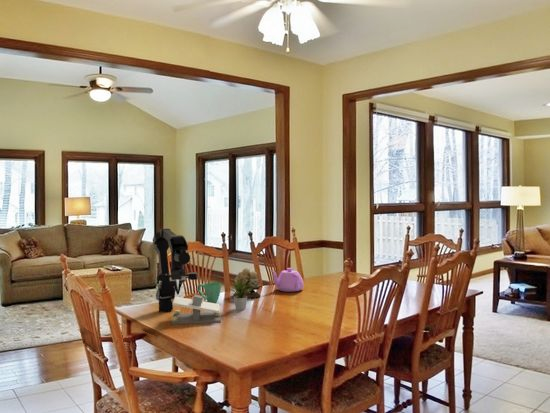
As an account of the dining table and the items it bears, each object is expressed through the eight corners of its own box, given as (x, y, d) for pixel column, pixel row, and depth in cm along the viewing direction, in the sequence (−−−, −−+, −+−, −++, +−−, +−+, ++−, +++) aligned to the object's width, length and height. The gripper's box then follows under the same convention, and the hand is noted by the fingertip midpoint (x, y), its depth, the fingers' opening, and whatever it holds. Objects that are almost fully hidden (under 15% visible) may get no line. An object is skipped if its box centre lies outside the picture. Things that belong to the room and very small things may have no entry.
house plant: (250, 313, 241) (250, 281, 241) (224, 312, 244) (223, 280, 244) (257, 306, 255) (256, 276, 255) (232, 305, 258) (231, 275, 258)
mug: (224, 300, 270) (224, 283, 270) (215, 304, 261) (215, 286, 261) (203, 298, 276) (202, 281, 276) (193, 302, 267) (192, 284, 267)
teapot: (263, 289, 301) (262, 267, 301) (292, 285, 312) (292, 264, 311) (279, 295, 282) (279, 272, 282) (311, 291, 292) (310, 269, 292)
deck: (172, 305, 223) (174, 294, 223) (175, 298, 237) (177, 288, 237) (219, 313, 226) (221, 302, 226) (219, 306, 239) (221, 296, 239)
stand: (170, 324, 222) (170, 312, 222) (174, 315, 238) (174, 304, 238) (220, 322, 225) (220, 310, 225) (220, 313, 241) (220, 302, 241)
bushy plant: (265, 295, 282) (265, 267, 282) (256, 300, 272) (255, 270, 271) (239, 293, 290) (238, 265, 290) (228, 297, 280) (228, 268, 279)
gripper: (155, 265, 221) (156, 298, 221) (196, 263, 223) (197, 297, 224) (158, 261, 232) (158, 293, 232) (197, 260, 234) (197, 292, 235)
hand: (177, 294), depth 230 cm, fingers closed
